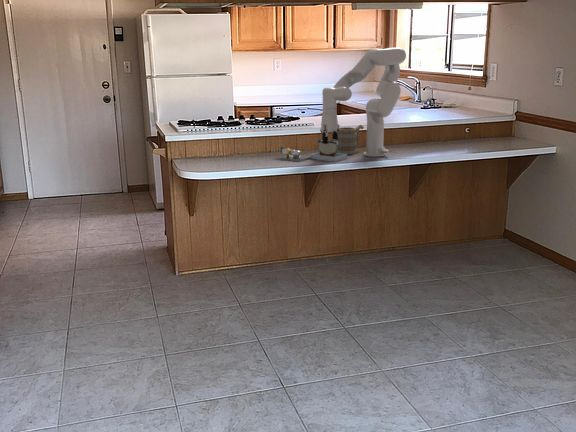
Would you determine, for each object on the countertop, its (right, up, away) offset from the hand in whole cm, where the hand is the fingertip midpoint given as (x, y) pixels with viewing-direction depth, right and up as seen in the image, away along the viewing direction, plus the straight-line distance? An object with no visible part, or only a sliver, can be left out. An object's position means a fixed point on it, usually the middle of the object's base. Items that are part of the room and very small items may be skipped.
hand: (330, 142), depth 332 cm
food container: (0, -8, +3) cm, 9 cm away
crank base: (-18, -9, +2) cm, 21 cm away
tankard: (+14, -3, +23) cm, 27 cm away
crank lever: (-22, -7, +4) cm, 23 cm away
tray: (-1, -9, +2) cm, 9 cm away
